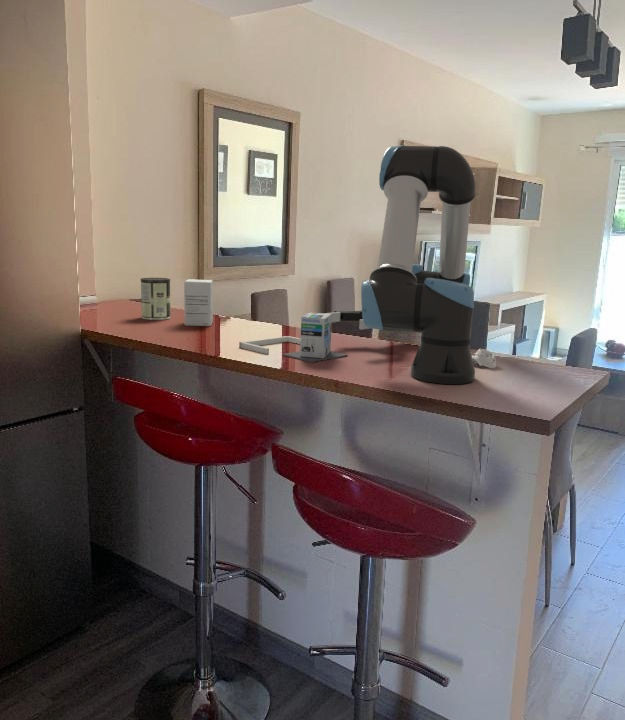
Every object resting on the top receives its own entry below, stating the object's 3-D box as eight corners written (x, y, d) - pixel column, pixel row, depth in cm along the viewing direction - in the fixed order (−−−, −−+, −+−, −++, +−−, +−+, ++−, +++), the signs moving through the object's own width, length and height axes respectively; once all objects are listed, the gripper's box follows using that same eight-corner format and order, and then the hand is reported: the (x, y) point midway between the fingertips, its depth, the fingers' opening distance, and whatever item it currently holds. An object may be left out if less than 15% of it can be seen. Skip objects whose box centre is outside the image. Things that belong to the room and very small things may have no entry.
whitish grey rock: (479, 365, 176) (480, 347, 175) (502, 367, 171) (503, 349, 171) (464, 366, 170) (465, 348, 170) (487, 369, 165) (488, 350, 165)
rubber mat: (347, 356, 175) (347, 354, 175) (311, 362, 166) (311, 361, 165) (318, 349, 183) (318, 348, 183) (282, 355, 173) (282, 354, 173)
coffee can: (156, 315, 237) (155, 276, 234) (176, 318, 232) (176, 279, 229) (134, 317, 228) (134, 278, 225) (155, 321, 223) (155, 280, 220)
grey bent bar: (314, 346, 187) (314, 341, 187) (266, 354, 174) (266, 348, 174) (287, 340, 195) (287, 335, 195) (239, 347, 182) (239, 342, 181)
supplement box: (187, 321, 225) (187, 278, 222) (213, 322, 225) (213, 279, 222) (183, 325, 216) (183, 281, 213) (210, 326, 216) (210, 282, 213)
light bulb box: (323, 359, 168) (325, 318, 166) (299, 357, 170) (300, 316, 168) (331, 351, 179) (332, 313, 176) (307, 349, 180) (309, 311, 178)
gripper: (421, 334, 187) (375, 341, 172) (356, 323, 204) (309, 328, 189) (423, 308, 185) (377, 313, 170) (357, 299, 202) (310, 303, 187)
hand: (341, 321), depth 180 cm, fingers open, 13 cm apart
